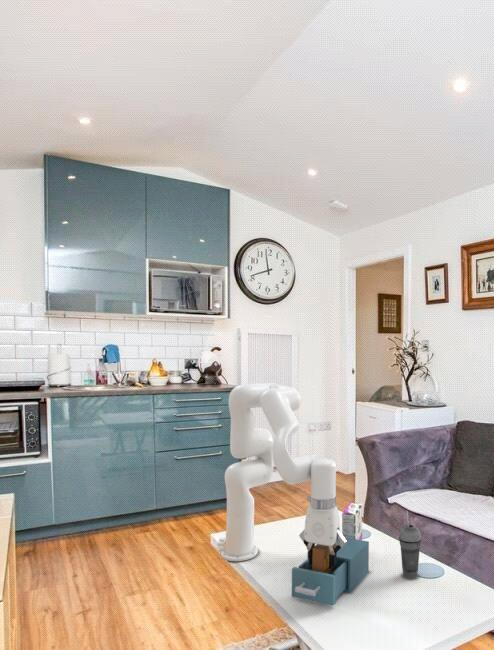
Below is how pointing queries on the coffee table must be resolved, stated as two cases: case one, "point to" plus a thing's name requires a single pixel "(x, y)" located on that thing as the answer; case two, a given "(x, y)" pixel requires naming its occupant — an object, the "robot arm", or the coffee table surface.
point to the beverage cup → (410, 550)
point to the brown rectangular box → (321, 559)
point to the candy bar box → (352, 521)
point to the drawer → (319, 582)
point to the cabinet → (354, 560)
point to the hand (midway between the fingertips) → (322, 564)
